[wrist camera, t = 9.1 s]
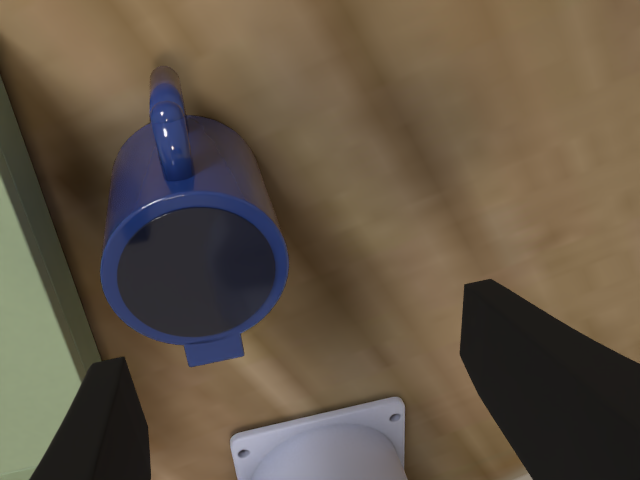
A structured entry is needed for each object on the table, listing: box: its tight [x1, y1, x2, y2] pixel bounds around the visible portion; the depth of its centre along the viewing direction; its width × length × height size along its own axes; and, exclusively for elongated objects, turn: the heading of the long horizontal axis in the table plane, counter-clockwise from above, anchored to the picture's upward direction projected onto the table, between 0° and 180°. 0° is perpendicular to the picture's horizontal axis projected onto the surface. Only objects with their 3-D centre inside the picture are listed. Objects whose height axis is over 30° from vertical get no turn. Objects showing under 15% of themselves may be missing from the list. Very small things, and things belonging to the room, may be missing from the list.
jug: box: [100, 66, 289, 367], centre depth 18 cm, size 7×5×6 cm, turn 4°
